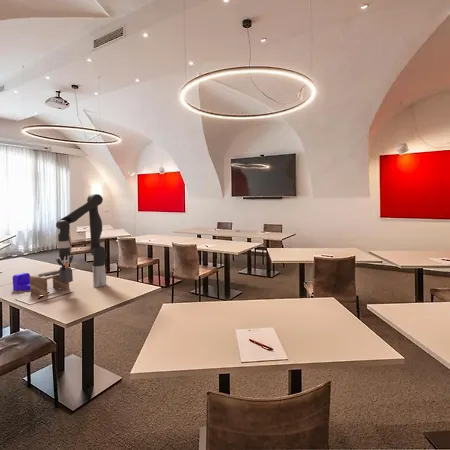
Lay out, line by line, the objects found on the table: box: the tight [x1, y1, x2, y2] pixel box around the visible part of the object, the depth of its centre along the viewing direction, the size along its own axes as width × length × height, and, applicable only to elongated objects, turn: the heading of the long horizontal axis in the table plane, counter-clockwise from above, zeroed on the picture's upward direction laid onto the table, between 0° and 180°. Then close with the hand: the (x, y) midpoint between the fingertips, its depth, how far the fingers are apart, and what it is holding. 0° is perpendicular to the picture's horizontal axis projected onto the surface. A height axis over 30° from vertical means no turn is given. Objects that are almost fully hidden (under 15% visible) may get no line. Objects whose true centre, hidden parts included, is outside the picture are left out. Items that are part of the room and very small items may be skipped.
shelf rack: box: [30, 269, 70, 297], centre depth 224 cm, size 20×16×15 cm
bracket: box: [12, 272, 31, 292], centre depth 231 cm, size 18×11×12 cm, turn 73°
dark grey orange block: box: [59, 262, 74, 284], centre depth 219 cm, size 4×9×14 cm, turn 67°
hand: (65, 269), depth 219 cm, fingers closed on dark grey orange block, 2 cm apart
